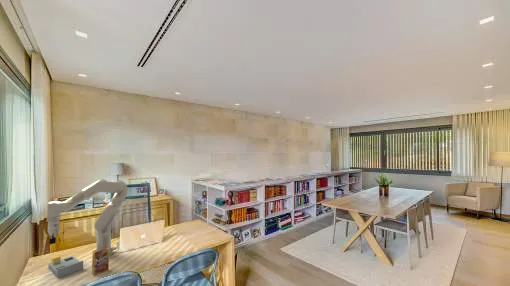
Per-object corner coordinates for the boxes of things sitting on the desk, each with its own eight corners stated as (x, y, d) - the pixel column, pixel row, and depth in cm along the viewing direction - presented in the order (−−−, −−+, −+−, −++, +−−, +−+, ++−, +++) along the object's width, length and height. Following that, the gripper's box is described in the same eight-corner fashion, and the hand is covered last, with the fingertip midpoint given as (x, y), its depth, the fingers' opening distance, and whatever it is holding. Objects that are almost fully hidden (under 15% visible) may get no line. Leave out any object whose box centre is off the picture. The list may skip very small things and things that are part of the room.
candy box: (93, 275, 150) (93, 252, 150) (91, 273, 152) (92, 250, 153) (108, 270, 156) (109, 248, 156) (106, 268, 159) (107, 246, 159)
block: (58, 260, 163) (58, 254, 163) (60, 262, 160) (60, 256, 161) (51, 262, 160) (51, 257, 160) (53, 264, 157) (53, 258, 157)
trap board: (72, 259, 170) (72, 252, 170) (83, 268, 158) (83, 260, 158) (48, 267, 159) (48, 259, 159) (57, 278, 146) (57, 269, 147)
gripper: (63, 219, 163) (62, 244, 163) (57, 215, 172) (56, 239, 171) (49, 221, 157) (48, 248, 157) (44, 217, 166) (42, 242, 165)
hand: (52, 243), depth 164 cm, fingers closed
